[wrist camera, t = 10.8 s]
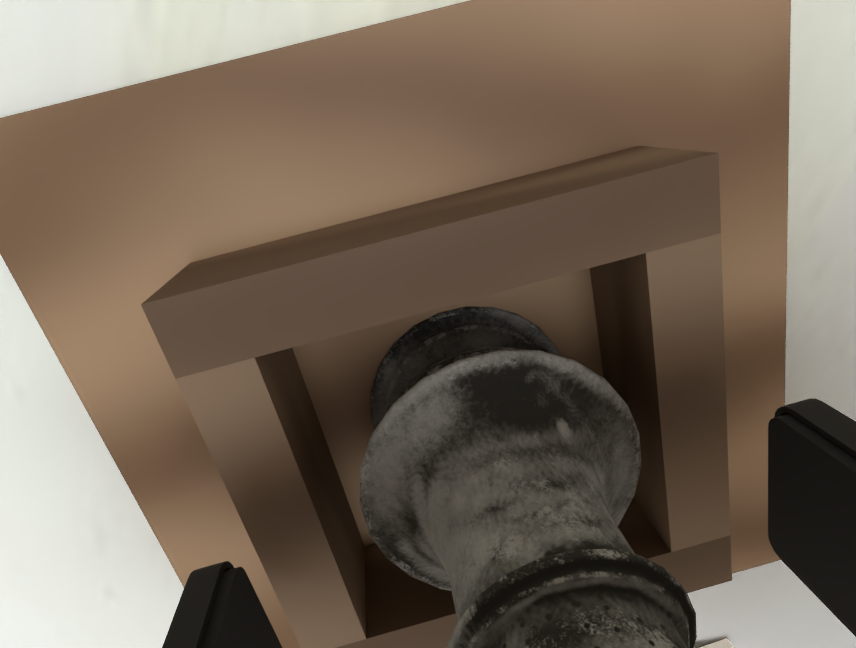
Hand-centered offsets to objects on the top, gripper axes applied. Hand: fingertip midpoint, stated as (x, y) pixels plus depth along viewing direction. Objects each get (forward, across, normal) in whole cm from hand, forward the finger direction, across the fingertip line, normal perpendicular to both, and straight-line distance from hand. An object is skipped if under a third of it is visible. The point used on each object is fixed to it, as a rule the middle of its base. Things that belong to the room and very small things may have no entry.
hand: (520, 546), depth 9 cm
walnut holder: (+6, 0, 0) cm, 6 cm away
